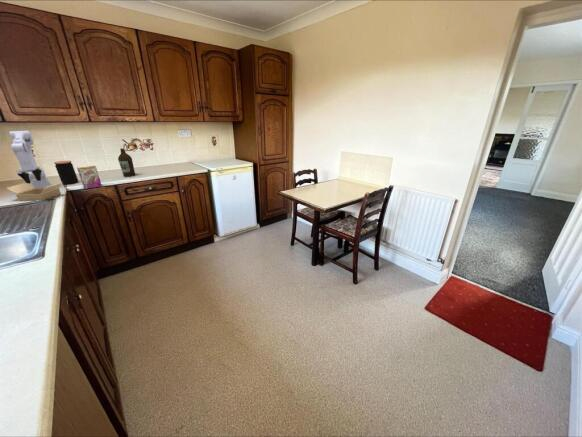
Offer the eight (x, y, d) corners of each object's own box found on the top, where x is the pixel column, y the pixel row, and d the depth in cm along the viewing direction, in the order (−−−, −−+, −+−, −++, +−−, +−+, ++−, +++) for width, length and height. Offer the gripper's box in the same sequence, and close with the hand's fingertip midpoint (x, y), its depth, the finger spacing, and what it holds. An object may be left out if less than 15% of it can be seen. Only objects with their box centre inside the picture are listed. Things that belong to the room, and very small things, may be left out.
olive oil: (126, 174, 231) (118, 147, 221) (138, 174, 232) (131, 147, 222) (120, 177, 221) (112, 149, 212) (133, 177, 223) (125, 149, 213)
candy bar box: (85, 189, 186) (77, 168, 180) (83, 188, 189) (76, 167, 183) (102, 186, 194) (95, 165, 188) (100, 185, 197) (93, 165, 191)
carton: (38, 194, 174) (35, 188, 172) (61, 194, 175) (58, 188, 173) (18, 201, 161) (15, 194, 160) (43, 200, 162) (41, 194, 160)
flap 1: (34, 188, 172) (34, 188, 172) (25, 182, 170) (25, 183, 170) (16, 193, 160) (15, 194, 160) (6, 187, 158) (6, 188, 158)
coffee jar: (82, 182, 207) (74, 160, 200) (68, 185, 197) (60, 163, 190) (72, 181, 210) (65, 160, 202) (59, 184, 200) (50, 162, 193)
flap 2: (62, 182, 171) (62, 182, 171) (58, 187, 172) (58, 188, 172) (45, 187, 159) (46, 187, 159) (41, 193, 160) (41, 193, 160)
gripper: (20, 163, 155) (30, 184, 160) (41, 160, 168) (49, 179, 173) (9, 163, 154) (18, 184, 160) (31, 160, 168) (39, 179, 173)
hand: (34, 181), depth 166 cm, fingers open, 7 cm apart
